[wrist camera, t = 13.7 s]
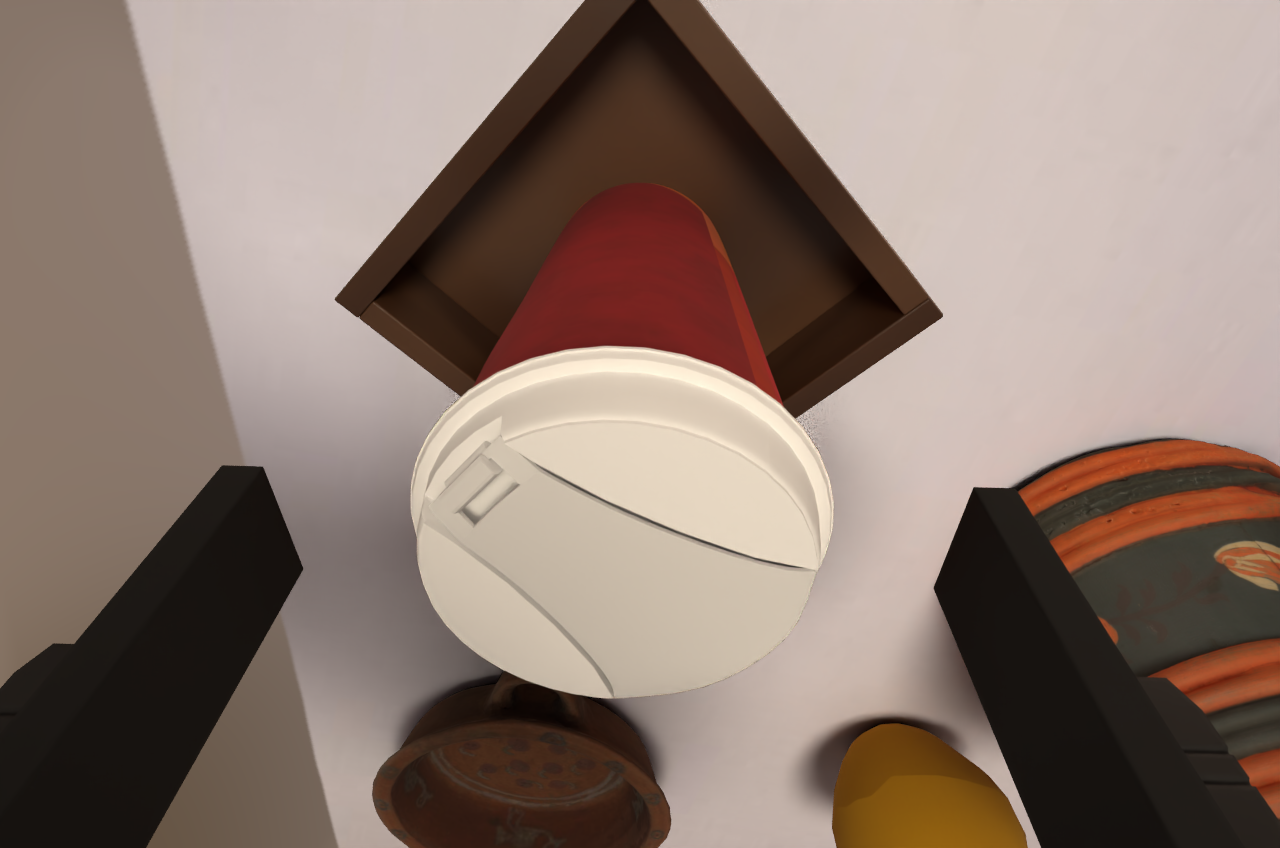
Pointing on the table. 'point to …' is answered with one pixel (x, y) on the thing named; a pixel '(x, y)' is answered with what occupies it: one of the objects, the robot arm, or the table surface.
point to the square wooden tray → (643, 153)
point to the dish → (521, 775)
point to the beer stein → (1182, 576)
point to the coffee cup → (623, 470)
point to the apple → (918, 796)
